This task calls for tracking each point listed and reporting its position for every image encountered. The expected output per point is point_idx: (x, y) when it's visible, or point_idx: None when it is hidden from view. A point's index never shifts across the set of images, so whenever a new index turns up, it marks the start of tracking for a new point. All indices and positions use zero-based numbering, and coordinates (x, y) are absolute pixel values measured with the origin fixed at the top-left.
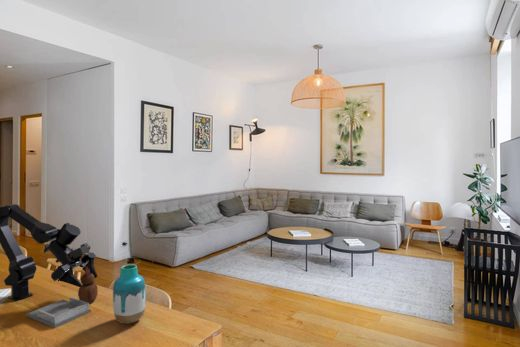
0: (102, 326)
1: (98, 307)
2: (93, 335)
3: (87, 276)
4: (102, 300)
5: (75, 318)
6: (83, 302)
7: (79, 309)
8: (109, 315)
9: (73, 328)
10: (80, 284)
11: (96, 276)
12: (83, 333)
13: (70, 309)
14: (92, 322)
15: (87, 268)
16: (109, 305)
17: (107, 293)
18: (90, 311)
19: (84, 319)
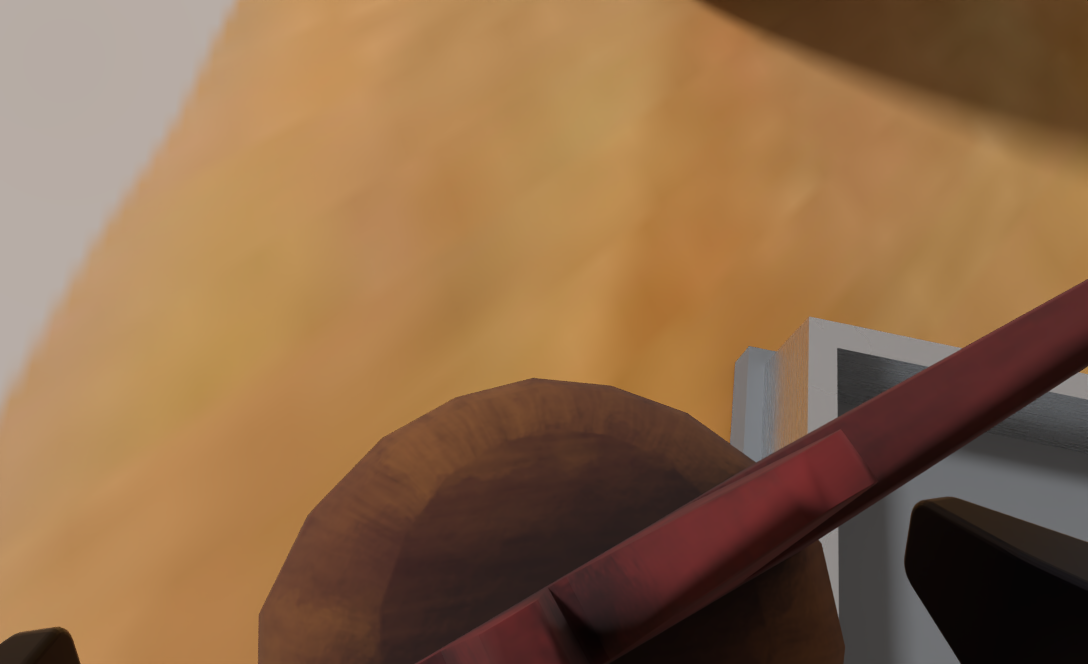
0: (892, 43)
1: (590, 359)
2: (1027, 24)
3: (717, 466)
4: None
5: None
6: None
7: None
8: (701, 106)
9: (1083, 258)
10: (972, 508)
11: (63, 652)
12: (1065, 112)
13: (909, 655)
14: (896, 168)
15: (708, 501)
16: (487, 260)
17: (39, 625)
18: (741, 361)
19: (903, 292)
